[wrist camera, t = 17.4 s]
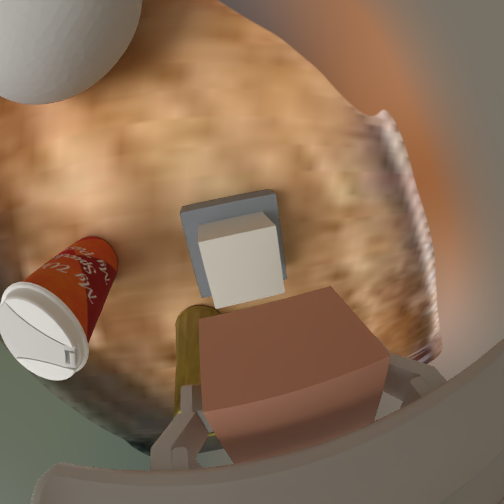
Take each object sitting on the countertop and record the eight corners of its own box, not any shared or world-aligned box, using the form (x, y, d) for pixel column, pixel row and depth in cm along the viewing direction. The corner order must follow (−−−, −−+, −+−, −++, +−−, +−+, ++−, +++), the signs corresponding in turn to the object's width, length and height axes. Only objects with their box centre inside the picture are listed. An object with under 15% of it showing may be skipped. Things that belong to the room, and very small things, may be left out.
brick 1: (198, 225, 25) (198, 242, 20) (262, 211, 26) (275, 225, 21) (212, 282, 27) (215, 309, 23) (271, 268, 28) (284, 292, 23)
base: (181, 206, 27) (179, 213, 24) (268, 189, 28) (275, 193, 25) (201, 284, 30) (201, 298, 28) (279, 267, 31) (286, 278, 29)
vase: (186, 297, 31) (182, 393, 18) (233, 314, 33) (255, 408, 19) (169, 335, 32) (161, 430, 19) (213, 350, 34) (225, 442, 21)
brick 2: (198, 319, 11) (203, 412, 7) (330, 286, 12) (390, 355, 7) (229, 401, 14) (243, 477, 9) (331, 373, 14) (368, 438, 10)
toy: (177, 3, 19) (167, -85, 5) (115, 124, 23) (35, 105, 9) (71, -6, 14) (20, -61, 1) (16, 102, 18) (-71, 95, 5)
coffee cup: (134, 237, 27) (82, 316, 13) (122, 301, 29) (85, 398, 16) (67, 217, 25) (-16, 274, 11) (61, 281, 27) (1, 361, 13)
